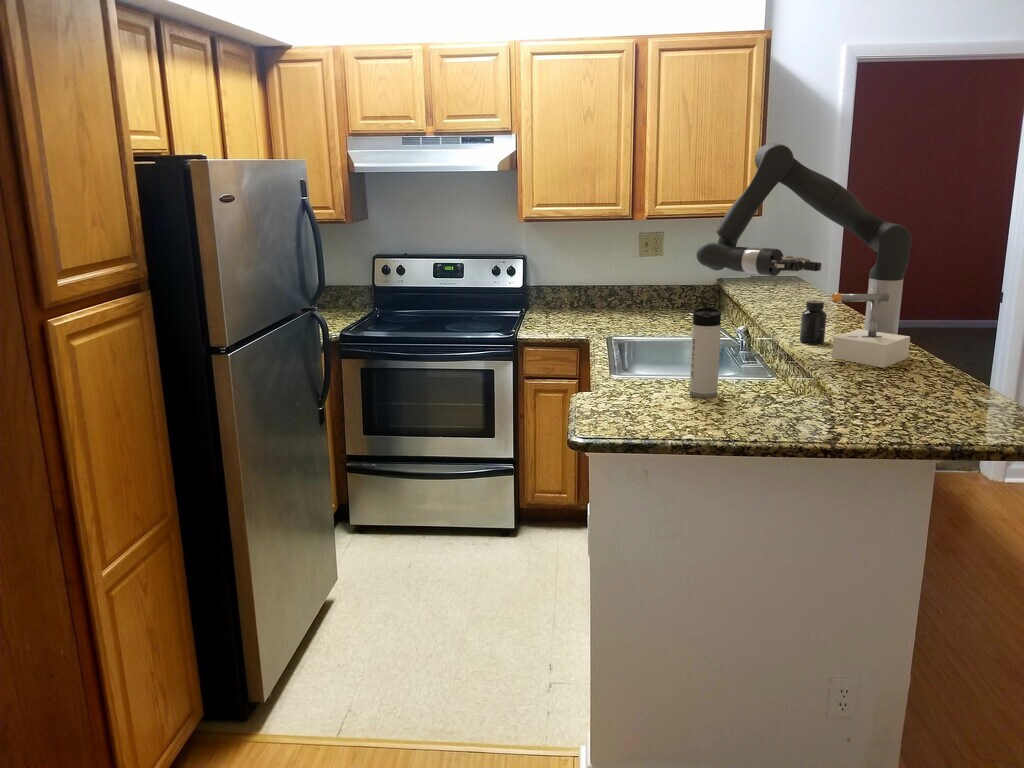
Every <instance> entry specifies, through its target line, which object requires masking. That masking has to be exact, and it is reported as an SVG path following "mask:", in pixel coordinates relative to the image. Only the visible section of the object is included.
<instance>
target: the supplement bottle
mask: <svg viewBox="0 0 1024 768" xmlns="http://www.w3.org/2000/svg"><path fill="white" fill-rule="evenodd" d="M824 306H825V301H822V300H807V301H806V304H805V310H804V311H802V313H801V321H800V330H799V331H800V332H799V342H800V341H801V342H800V343H802V342H803V343H802V344H805V343H808V344H807V345H822V344H824V343H825V337H826V327H827V315H828V314H827V313H826V312H825V311H824V309H825V307H824Z"/></svg>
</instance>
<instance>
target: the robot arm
mask: <svg viewBox="0 0 1024 768" xmlns="http://www.w3.org/2000/svg"><path fill="white" fill-rule="evenodd" d="M754 162H755V166H756V168H757V170H756V173H755V175H754V176H753V178H752V180H751V181H750V183H749V184H748V186H747V187H746V189H745V190H744V191H743V193H742V194H741V195H740V196H739V197H738V198H737V199H736V200H735V201H734V203H733V204H732V205H731V206H730V208H729V209H728V211H727V212H726V214H725V215H724V217H723V218H722V220H721V221H720V223H719V225H718V227H717V229H716V234H717V235H718V236H719V238H718V241H717V242H705V243H703V244H701V245H700V246H698V249H697V251H696V259H697V261H698V263H699V264H701V265H702V266H704V267H706V268H708V269H711V270H712V271H721V270H723V269H725V268H726V269H729V270H731V271H733V272H734V271H735V272H742V273H748V274H752V275H753V274H754V275H762V276H771V277H775V276H778V275H779V274H780V273H781V272H800V271H801V272H804V271H809V272H810V271H811V272H812V271H813V272H819V271H821V269H822V262H820V261H811V260H810V259H809V258H808V259H807V258H804V257H801V256H800V257H794V256H792V255H785V256H784V254H783V252H782V250H780V249H778V248H768V247H758V246H757V247H755V246H754V247H746V246H738V245H737V244H738V241H739V239H740V237H741V236H742V234H743V233H744V231H745V230H746V228H747V226H748V225H749V224H750V222H751V220H752V219H753V217H754V215H755V214H756V213H757V211H758V210H759V208H760V207H761V206H762V204H763V202H764V201H765V200H766V198H767V197H768V196H769V195H770V193H772V191H773V189H774V188H775V187H776V186H777V185H778V184H779V183H780V184H782V185H783V186H785V187H787V188H788V189H789V190H791V191H792V192H793V193H794V194H796V196H797V197H799V198H800V199H801V200H802V201H803V202H805V203H806V204H807V205H809V206H810V207H811V208H813V210H815V211H817V212H818V213H819V214H821V215H823V216H824V217H825V218H827V219H829V220H830V221H832V222H833V223H836V224H837V225H839V226H841V227H843V228H844V229H846V230H848V231H850V232H851V233H853V234H854V235H855V236H857V238H859V239H860V240H861V241H863V242H864V243H865V244H866V245H867V246H868V247H869V248H870V249H871V250H873V251H874V252H876V253H877V255H876V261H875V264H874V266H873V267H871V268H870V270H869V276H868V277H869V278H868V288H867V294H889V300H888V301H880V303H879V313H878V323H877V332H881V333H889V334H896V335H898V331H899V321H900V313H901V305H902V296H903V285H904V278H905V273H906V271H907V269H908V266H909V261H910V255H911V246H912V235H911V232H910V230H909V229H908V228H907V227H906V226H905V225H902V224H898V223H892V222H889V221H886V220H884V219H882V218H880V217H879V216H877V215H875V214H873V213H872V212H870V210H868V209H866V208H865V206H864V205H863V204H862V203H861V202H860V200H859V199H858V198H857V197H856V196H855V195H854V194H853V193H852V192H851V191H850V190H848V189H847V188H845V187H844V186H842V185H841V184H839V183H838V182H836V181H834V180H833V179H832V178H830V177H827V176H825V175H824V174H822V173H820V172H818V171H815V170H812V169H811V168H809V167H807V166H805V165H803V163H801V162H799V161H798V160H797V159H796V158H795V157H794V154H793V151H792V150H791V148H790V147H789V146H787V145H785V144H782V143H777V142H770V143H766V144H764V145H762V146H761V147H759V149H758V150H757V151H756V152H755V156H754ZM870 310H871V301H870V302H866V308H865V315H864V316H865V318H864V327H863V330H867V331H868V330H869V320H870Z"/></svg>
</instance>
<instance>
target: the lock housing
mask: <svg viewBox="0 0 1024 768" xmlns="http://www.w3.org/2000/svg"><path fill="white" fill-rule="evenodd" d="M832 342H833V343H832V344H833V345H832V354H831V359H832V358H837V359H843V360H847V361H852V362H851V363H853V362H856V363H855V364H858V363H861V364H860V365H864V364H866V365H865V366H872V367H875V368H877V367H878V368H882V369H886V368H887V367H889V366H893V365H895V364H897V363H900V362H903V361H905V360H907V359H908V358H909V351H910V343H911V336H908V335H903V334H902V335H901V334H897V335H896V334H889V333H881V332H876V336H868V331H867V330H864V329H860V328H859V329H855V330H852V331H849V332H846V333H842V334H838V335H836V336H833V341H832ZM847 361H846V362H847Z"/></svg>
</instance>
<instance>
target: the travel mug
mask: <svg viewBox="0 0 1024 768" xmlns="http://www.w3.org/2000/svg"><path fill="white" fill-rule="evenodd" d="M721 320H722V311H721V310H720V309H717V308H714V307H713V306H704V307H702V308H701V307H700V308H696V309H695V310H693V311H692V323H691V324H692V327H691V328H692V329H691V330H692V331H691V349H690V350H691V351H690V352H691V353H690V373H689V375H690V377H689V394H690V396H692V397H694V398H698V399H712V398H715V397H717V395H718V389H719V387H718V386H719V369H720V349H721V329H722V326H721V325H722V324H721Z"/></svg>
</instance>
